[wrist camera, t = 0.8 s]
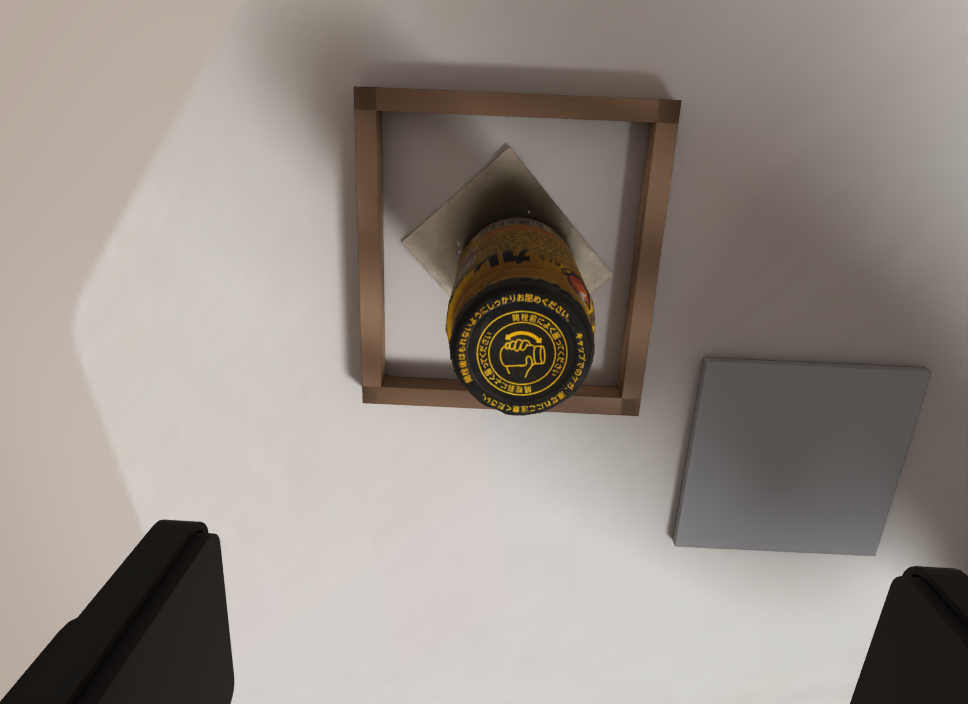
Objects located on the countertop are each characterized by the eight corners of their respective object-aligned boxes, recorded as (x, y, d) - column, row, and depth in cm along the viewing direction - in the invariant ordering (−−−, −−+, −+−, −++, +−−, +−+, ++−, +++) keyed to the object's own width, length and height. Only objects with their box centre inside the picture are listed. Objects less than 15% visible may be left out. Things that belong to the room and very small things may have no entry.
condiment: (506, 357, 36) (508, 470, 25) (401, 241, 34) (353, 308, 23) (612, 274, 34) (666, 356, 23) (509, 146, 32) (513, 167, 21)
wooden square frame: (633, 404, 37) (638, 415, 36) (368, 391, 37) (362, 403, 36) (673, 100, 31) (681, 100, 30) (360, 87, 31) (353, 86, 30)
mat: (869, 549, 40) (875, 556, 39) (672, 540, 40) (675, 546, 39) (924, 367, 36) (931, 371, 35) (703, 357, 36) (707, 361, 35)
